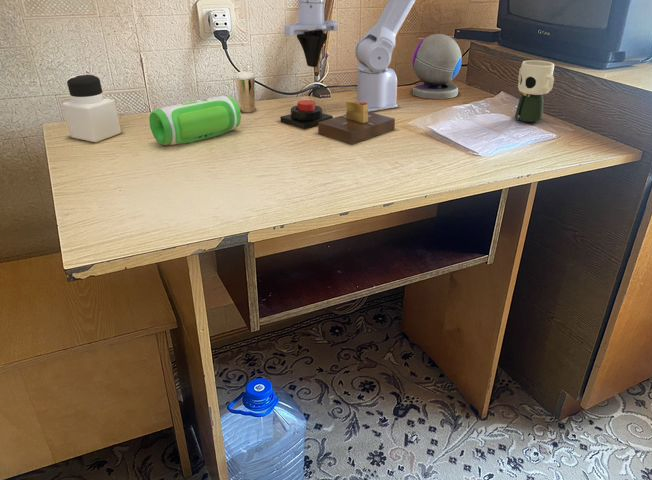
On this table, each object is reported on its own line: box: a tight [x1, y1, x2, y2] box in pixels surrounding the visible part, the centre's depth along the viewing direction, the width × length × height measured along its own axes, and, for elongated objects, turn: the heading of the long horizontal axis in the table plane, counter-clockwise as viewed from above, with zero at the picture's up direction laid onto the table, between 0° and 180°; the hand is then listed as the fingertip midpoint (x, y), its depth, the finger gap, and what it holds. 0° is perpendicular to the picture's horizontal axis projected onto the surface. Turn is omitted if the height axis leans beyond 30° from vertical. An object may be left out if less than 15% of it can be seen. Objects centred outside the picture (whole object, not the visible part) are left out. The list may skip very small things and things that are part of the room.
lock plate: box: [317, 111, 396, 145], centre depth 119 cm, size 14×10×3 cm
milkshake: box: [234, 64, 256, 113], centre depth 130 cm, size 4×5×10 cm
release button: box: [296, 99, 316, 111], centre depth 124 cm, size 4×4×2 cm
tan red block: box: [345, 99, 368, 123], centre depth 118 cm, size 5×2×4 cm, turn 47°
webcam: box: [412, 33, 463, 100], centre depth 146 cm, size 13×13×15 cm
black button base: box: [280, 104, 334, 130], centre depth 125 cm, size 9×8×3 cm
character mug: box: [514, 59, 555, 123], centre depth 126 cm, size 11×7×13 cm, turn 26°
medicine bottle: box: [61, 74, 122, 143], centre depth 112 cm, size 7×7×12 cm
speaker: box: [149, 95, 242, 146], centre depth 113 cm, size 18×7×8 cm, turn 135°
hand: (312, 66), depth 128 cm, fingers closed
